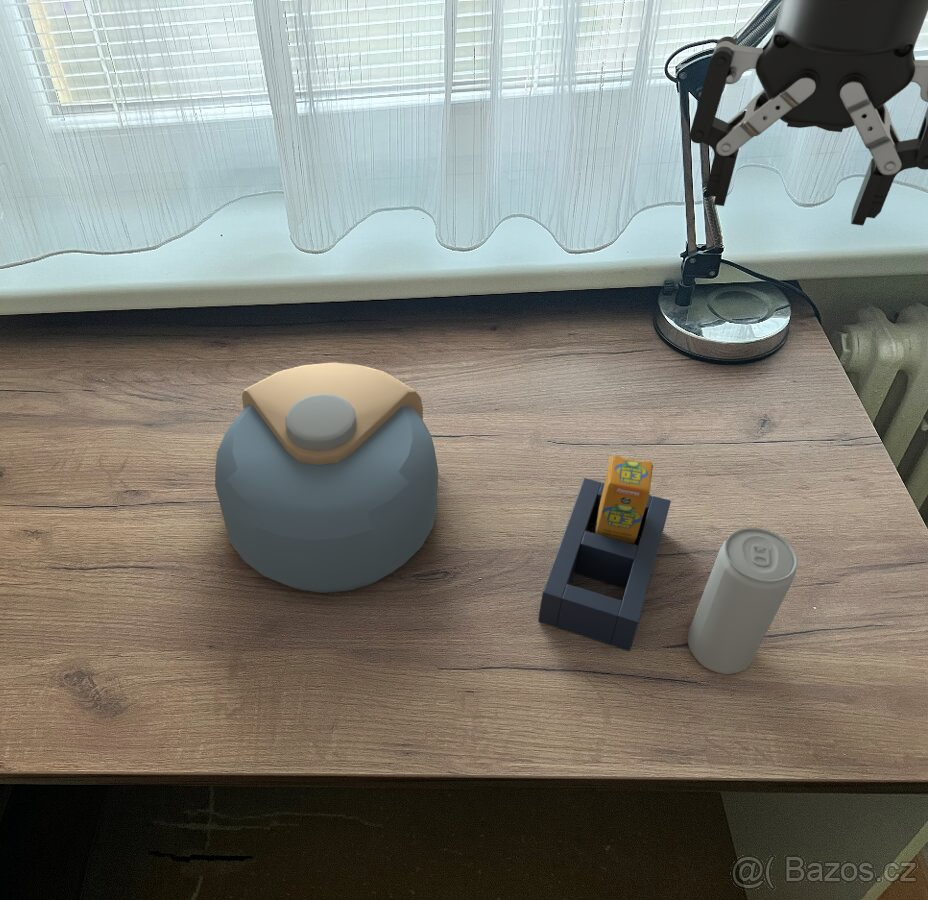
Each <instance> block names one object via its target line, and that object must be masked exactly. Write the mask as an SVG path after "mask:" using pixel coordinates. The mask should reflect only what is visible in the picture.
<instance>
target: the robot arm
mask: <svg viewBox="0 0 928 900" xmlns="http://www.w3.org/2000/svg"><path fill="white" fill-rule="evenodd" d="M927 14H928V0H781V2H780V5H779V9H778V13H777V16H776V20H775V23H774V27H773V30H772V31H773V32H772V35H771V36H770V38H769V40H768V41H767V42H766V43H765V45H764V46H763V47H755V46H750V45H749V46H748V45H741V44H737V41H736V39H735V38H734V37H733V36H728V35H727V36H723V37H721V38H720V39H719V40H718V41H717V43H716V44H715V47H714V50H713V53H712V55H711V58H710V61H709V63H708V68H707V71H706V72H707V73H706V75H705V79H704V81H703V85H702V89H701V92H700V96H699V99H698V103H697V107H696V110H695V113H694V117H693V120H692V124H691V127H690V130H689V140H690V141H691V142H693V143H694V144H704V145H707V146H708V147H710V148H711V149H712V150H713V160H712V163H711V167H710V171H709V175H708V180H707V184H706V187H705V188H706V194H707V196H708V197H714V201H713V204H712V205H713V206H719V207H725V203H726V200H727V197H728V193H729V189H730V187H731V186H730V185H731V182H732V178H733V174H734V170H735V166H736V162H737V160H738V159H737V158H738V155H739V152H740V148H741V147H743V146H744V145H745V144H747V142H748V143H749V141H750V140H751V139H753V138H754V137H759V136H760V135H762V133H764V132H765V131H766V130H767V129H769V128H770V127H771V126H772V125H774V124H775V123H776V122H777V121H779V120H781V121H782V122H783V123H786V127H788V128H797V129H803V128H810V127H812V128H813V127H816V128H819V129H822V130H824V131H827V132H835V133H843V131H844V130H845V129H850V128H852V127H855V128H856V130H857V132H858V135H859V136H860V138H861V140H862V143H863V145H864V146H865V148H866V149H867V150H868V151H869V152H870V155H871V158H870V161H869V164H868V166H867V167H868V168H867V170H866V173H865V175H864V178H863V180H862V183H861V185H860V188H859V191H858V194H857V196H856V199H855V200H854V201H855V202H854V204H853V208H852V210H851V219H850V225H855V226H862V227H863V226H864V225H865V223H866V220H867V218H869V219H876V217H877V216H879V214H880V213H881V212H882V210H883V207H884V204H885V203H886V200H887V197H888V195H889V192H890V190H891V188H892V186H893V183H894V180H895V178H896V177H897V175H898V174H899V173H901V172H902V171H904V170H907V169H914V168H918V169H920V170H923V171H924V170H925V171H926V170H928V106H927V107H926V109H925V110H926V111H925V113H924V115H923V119H922V122H921V125H920V128H919V131H918V134H917V137H916V138H912V139H907V140H900V137H899V135H898V133H897V131H896V129H895V127H894V124H893V122H892V119H891V114H890V112H889V110H888V108H887V105H886V104H887V102H889V101H890V100H892V99H893V98H894V97H895V96H897V95H898V94H899V93H900V92H902V91H904V89H906V88H907V87H908V86H909V85H910V83H915V84H917V85H918V86H919V95H920V99H921V100H922V101H923V102H926V103H928V59H916V57H915V54H914V51H915V46H916V43H917V40H918V38H919V35H920V33H921V30H922V28H923V25H924V22H925V21H926V17H927ZM749 70H755V74H756V76H757V78H758V80H759V83H760V84H761V87H762V88H763V89H762V90H761V91H760V92H759V93H757V94H756V95H755V96H754V97H753V98H752V99H751V100H750V101H749V102H748V103H747V105H746V106H745V107H744V108H743V109H742V110H740V111H739V112H738V113H737V114H735V116H733V117H732V118H731V119H729V121H725V120H723V119H720V118H719V117H716V116H717V112H718V109H719V107H720V102H721V99H722V96H723V92H724V89H725V86H726V85H733V84H736V83H738V82H739V81H740V79H741V78H742V76H743V74H744V73H746V72H747V71H749Z"/></svg>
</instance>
